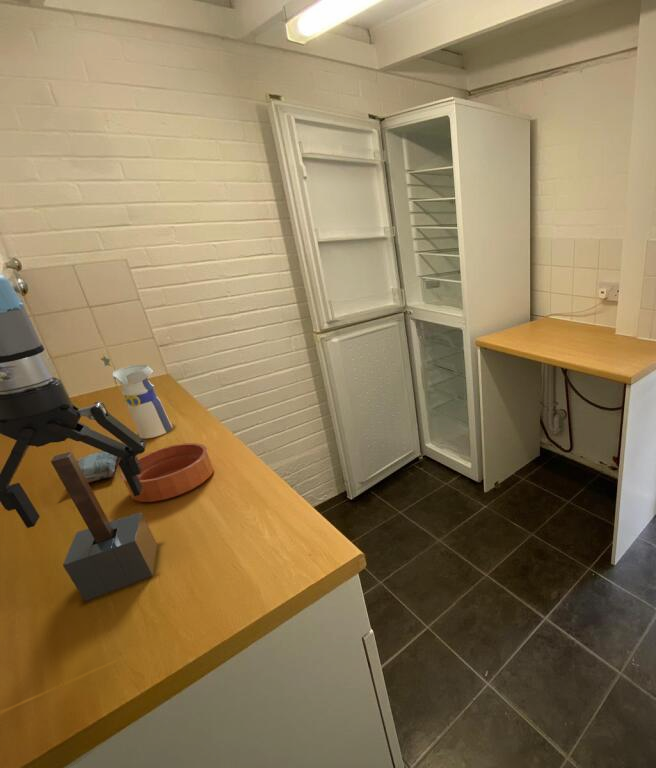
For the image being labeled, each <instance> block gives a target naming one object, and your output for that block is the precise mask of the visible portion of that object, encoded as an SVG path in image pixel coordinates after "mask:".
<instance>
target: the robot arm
mask: <svg viewBox="0 0 656 768" xmlns="http://www.w3.org/2000/svg"><path fill="white" fill-rule="evenodd" d="M57 375H58V371H57V370H56V368H55V365H54V364H53V362H52V360H51V358H50V357H49V355H48V352H47V351H46V349H45V347H44V345H43V344H42V341H41V339H40V337H39V335H38V334H37V331H36V329H35V327H34V324H33V323H32V321H31V319H30V317H29V315H28V313H27V310H26V307H25V304H24V302H23V300H22V299H21V298H20V296H19V295H18V293H17V292H16V290H15V289H14V287H13V285H12V284H11V282H10V281H9V279H8V278H7V277H6V276H4V275H3V273H2V274H1V273H0V435H2V436H5V437H7V438H9V439H12V440H15V443H14V445H13V446H12V448H11V450H10V454H9V456H8V458H7V459H6V462H5V463H4V465H3V467H2V469H1V471H0V504H1V505H2V507H3V509H5V510H6V511H9V512H11V511H14V510H15V511H16V513H17V514H18V516H19V517H20V520H22V522H23V524H24V525H25V527H26V528H27V529H29V528H33V527H35V526H36V524H37V522H38V521H39V519H40V517H41V516H40V514H39V513H38V511H37V509H36V508H35V506H34V504H33V502H32V501H31V499H30V498H29V496H28V495H27V493H26V491H25V490H24V488H23V486H22V485H21V483H20V482H16V483H12V480H13V478H14V476H15V474H16V472H17V471H18V469H19V467H20V465H21V463H22V461H23V459H24V457H25V455H26V453H27V451H28V449H29V447H35V448H39V447H44V446H46V445H48V444H52V443H61V442H66V440H68V439H70V440H72V441H74V442H81V443H83V444H86V445H88V446H90V447H92V448H95V449H97V450H100V451H105V452H107V453H109V454H112V455H114V456H116V457H119V461H118V466H119V468H120V470H121V473H122V472H123V474H124V476H125V478H126V480H127V482H128V484H129V486H130V488H131V490H132V492H133V494H134V496H137V495H140V493H141V489H142V485H141V483H140V481H139V479H138V477H137V475H139V474H140V473H141V468H142V467H141V465H140V463H139V461H138V455H139V454H143V453H144V452H145V451H146V447H147V442H146V440H144V438H140V437H139V435H138V434H136V433H135V432H134V431H133V430H131V429H130V428H128V426H126V425H125V424H124V423H122V422H121V421H120V420H119V419H117V418H116V417H115V416H113V415H112V414H111V413H109V410H108V409H107V407H106V406H105V404H104V402H102V401H95V402H94V403H93V404H92V405H88V406H84V407H80V408H79V407H77V406H76V405H74V403H73V402H72V400H71V398H70V396H69V394H68V392H67V390H66V388H65V385H64V384H63V382H62V380H61V379H59V378H57V377H56V376H57ZM81 417H86V418H88V419H89V420H91V421H95V422H96V423H97V424H98V425H99V426H100V427H102V428H103V429H104V430H105V431H107V432H109V433H110V434H111V435H112V436H114V437H115V438H116V439H118V440H119V441H118V440H116V439H113V438H112V437H110V436H107V435H105V434H102V433H100V432H98V431H96V430H93V429H91V428H90V426H88V425H85V424H84V423H81V422H79V421H80V419H81ZM11 483H12V484H11ZM10 484H11V485H10Z"/></svg>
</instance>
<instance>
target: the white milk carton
mask: <svg viewBox="0 0 656 768" xmlns="http://www.w3.org/2000/svg"><path fill="white" fill-rule="evenodd" d="M100 360H101V361H102V362H103V363H104V367H107V366H109V367H112V364H111V360H112V358H109V357H107V356H106V355H105V354H103V357H100ZM153 373H154V370H153V369H152V368H151V367H150V366H149V365H147V364H133V365H132V364H131V365H128V366H123V367H121V368H119V369H116V370H114V371H113V372H112V373H111V374H112V377H113V380H114V383H115V385H116V386H118V382H119V384H120V385H121V388H122V390H121V395H122V396H124V402H125V404H126V405H127V410H128V412H129V415H130V417H131V419H132V422H133V424H134V426H135V430H136V432H137V435H138V436H139V437H140V438H141V439H151V438H157V437H160V436H163V435H165V434H167V433H169V432H170V431H172V429H173V425H172V423H171V421H170V419H169V417H168V414H167V412H166V410H165V408H164V405H163V404H162V401H161V400H160V398H159V397H158V396H157V394H156V392H155V389H154V388H155V384H152V383H151V382H150V380H149V377H150V376H151V375H152V374H153ZM117 381H118V382H117Z"/></svg>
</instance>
